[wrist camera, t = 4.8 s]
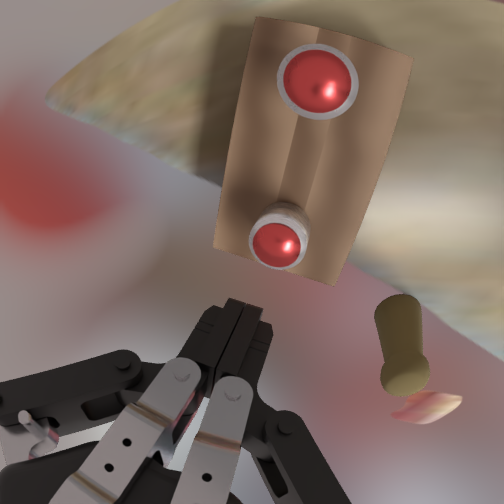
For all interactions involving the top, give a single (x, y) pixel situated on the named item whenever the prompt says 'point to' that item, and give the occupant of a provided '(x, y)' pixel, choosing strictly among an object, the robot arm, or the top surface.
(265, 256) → the knob
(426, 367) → the cork
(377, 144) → the console
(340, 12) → the top surface
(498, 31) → the top surface
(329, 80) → the knob
